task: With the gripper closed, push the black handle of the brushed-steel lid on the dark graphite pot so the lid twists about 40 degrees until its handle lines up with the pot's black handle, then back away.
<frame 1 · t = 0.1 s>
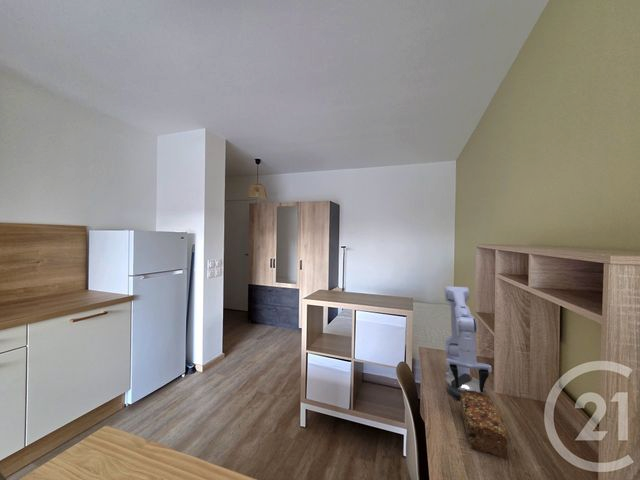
hand: (469, 388, 90), 11 cm above the table, tool pointing down, fingers open, 7 cm apart
lid: (463, 380, 105), point 6 cm above the table, hinge at -40.0°
pot: (464, 393, 105), on the table
bread: (481, 434, 83), on the table
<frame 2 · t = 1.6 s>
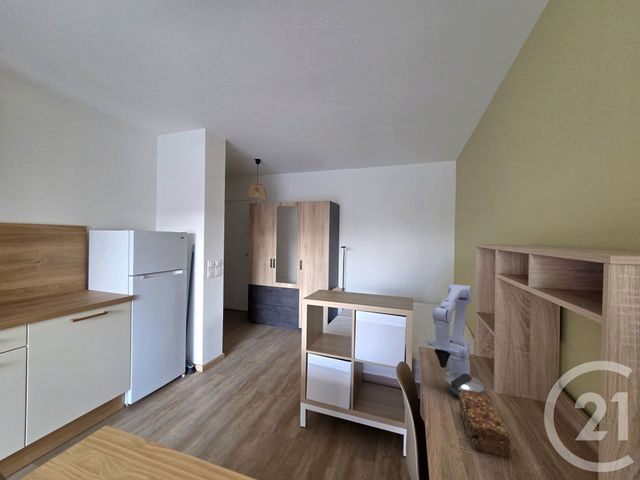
hand: (443, 366, 107), 10 cm above the table, tool pointing down, fingers closed
nothing on the table moved.
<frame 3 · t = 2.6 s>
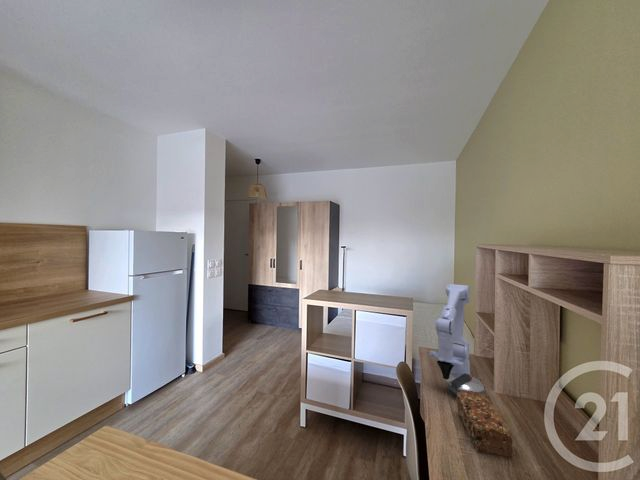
hand: (446, 378, 106), 6 cm above the table, tool pointing down, fingers closed
nothing on the table moved.
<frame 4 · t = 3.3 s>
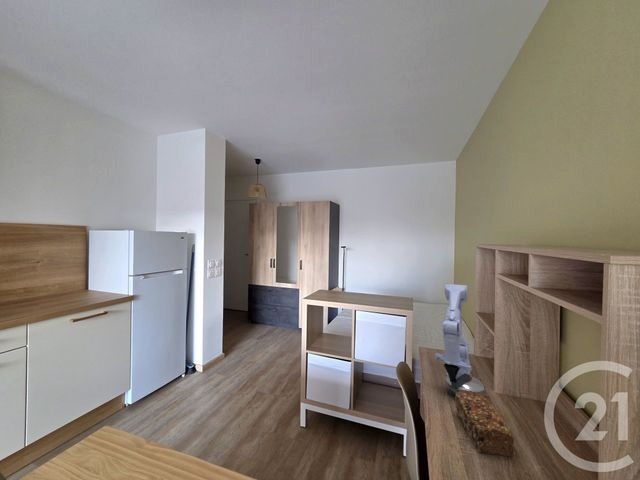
hand: (452, 381, 104), 6 cm above the table, tool pointing down, fingers closed, pressing on lid
lid: (463, 380, 105), point 6 cm above the table, hinge at -40.0°, touching gripper
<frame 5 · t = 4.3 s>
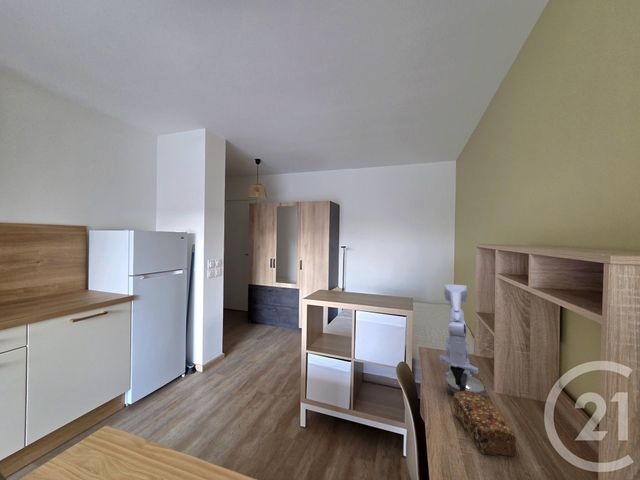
hand: (458, 384, 102), 6 cm above the table, tool pointing down, fingers closed, pressing on lid
lid: (464, 380, 105), point 6 cm above the table, hinge at -18.1°, touching gripper
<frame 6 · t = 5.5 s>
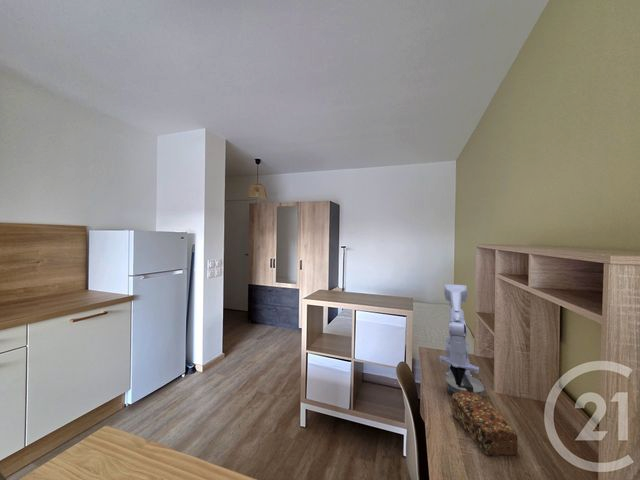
hand: (458, 384, 101), 6 cm above the table, tool pointing down, fingers closed
lid: (464, 380, 104), point 6 cm above the table, hinge at 0.8°
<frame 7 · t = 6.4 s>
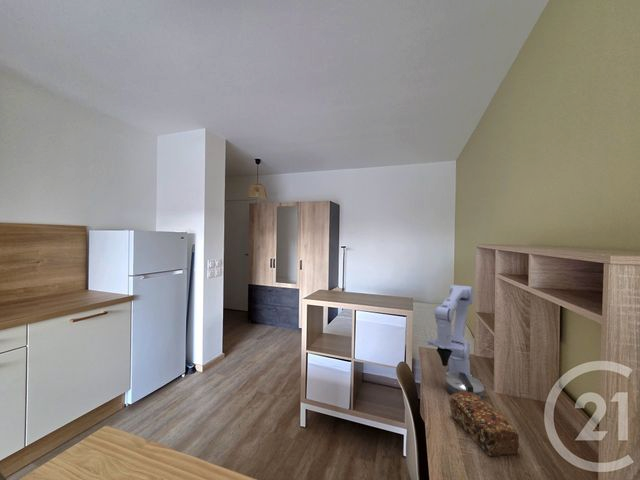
hand: (445, 365, 109), 10 cm above the table, tool pointing down, fingers closed
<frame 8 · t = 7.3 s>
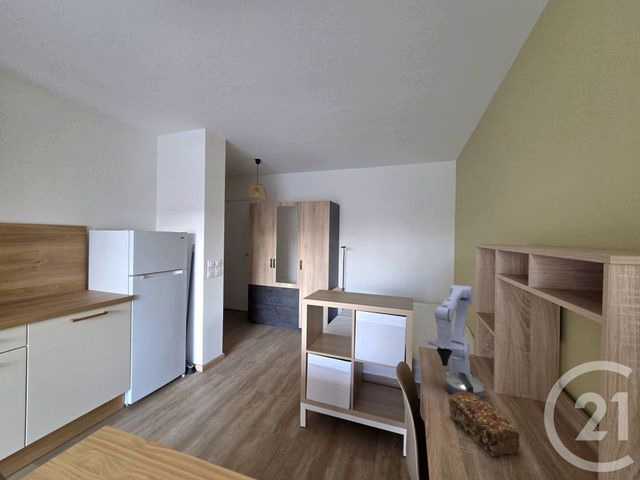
hand: (445, 365, 109), 10 cm above the table, tool pointing down, fingers closed
at the end: lid at +1° (first picture: -40°); bread moved 0.5 cm from its start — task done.
